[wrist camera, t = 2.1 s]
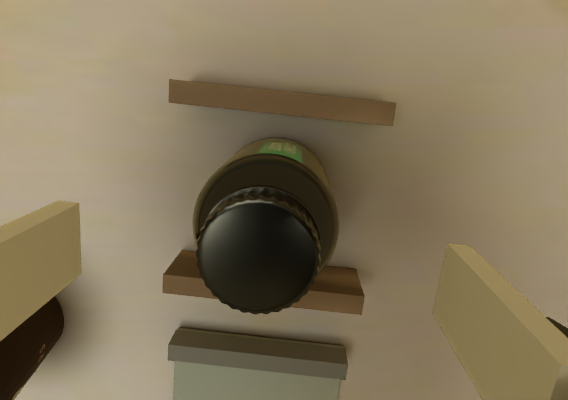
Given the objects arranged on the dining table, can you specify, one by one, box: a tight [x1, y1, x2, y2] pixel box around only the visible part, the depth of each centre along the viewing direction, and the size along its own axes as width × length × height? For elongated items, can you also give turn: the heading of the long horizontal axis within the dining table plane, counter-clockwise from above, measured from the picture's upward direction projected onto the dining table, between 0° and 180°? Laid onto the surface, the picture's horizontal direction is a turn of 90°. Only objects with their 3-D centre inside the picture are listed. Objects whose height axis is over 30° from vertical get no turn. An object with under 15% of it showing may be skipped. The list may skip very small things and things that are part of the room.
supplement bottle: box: [193, 138, 339, 314], centre depth 21 cm, size 7×7×12 cm
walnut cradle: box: [163, 79, 396, 315], centre depth 25 cm, size 12×12×4 cm
